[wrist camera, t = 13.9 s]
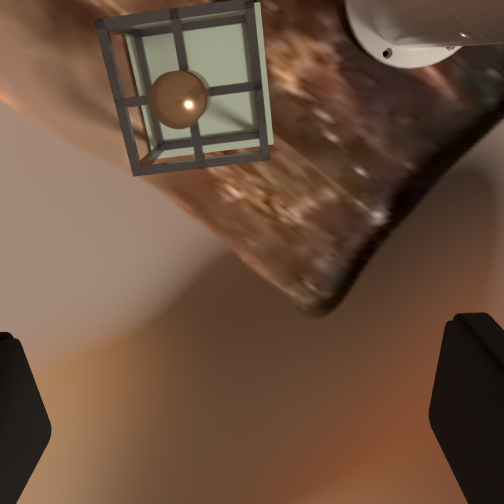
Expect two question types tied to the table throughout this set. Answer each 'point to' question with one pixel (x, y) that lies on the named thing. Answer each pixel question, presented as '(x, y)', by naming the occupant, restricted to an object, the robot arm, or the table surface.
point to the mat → (208, 80)
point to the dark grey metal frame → (182, 86)
